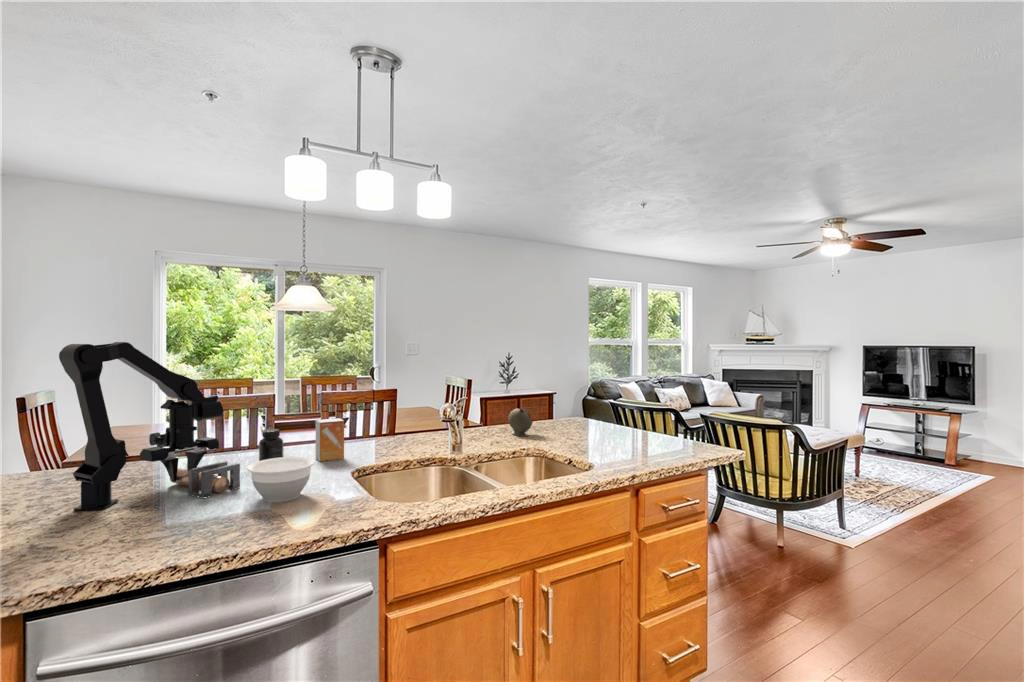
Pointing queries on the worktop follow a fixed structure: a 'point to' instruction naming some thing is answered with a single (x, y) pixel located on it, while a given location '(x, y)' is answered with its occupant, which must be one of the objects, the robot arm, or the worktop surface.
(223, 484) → the brown rounded cylinder
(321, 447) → the small box
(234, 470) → the collar bracket
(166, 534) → the worktop surface
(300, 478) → the bowl
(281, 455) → the supplement bottle
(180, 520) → the worktop surface
